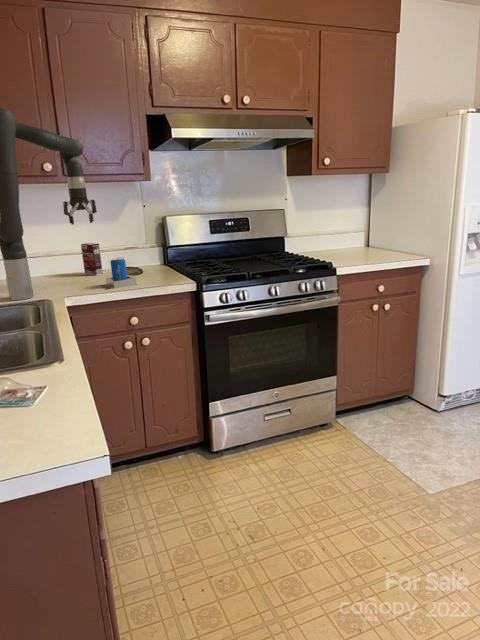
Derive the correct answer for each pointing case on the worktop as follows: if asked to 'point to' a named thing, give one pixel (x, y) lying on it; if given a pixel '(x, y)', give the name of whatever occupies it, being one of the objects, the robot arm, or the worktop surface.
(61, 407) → the worktop surface
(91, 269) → the supplement box
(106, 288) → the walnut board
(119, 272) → the beverage can
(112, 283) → the metal collar
